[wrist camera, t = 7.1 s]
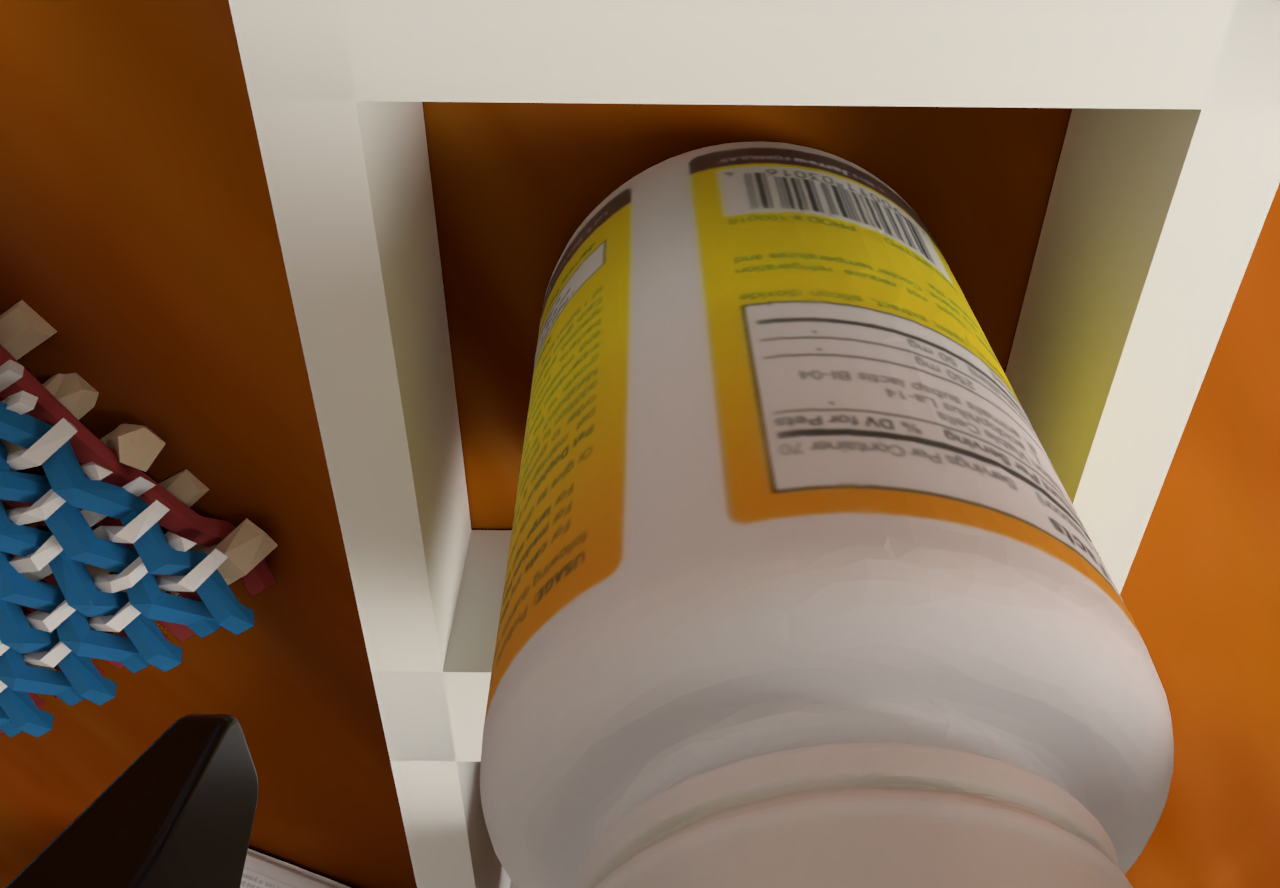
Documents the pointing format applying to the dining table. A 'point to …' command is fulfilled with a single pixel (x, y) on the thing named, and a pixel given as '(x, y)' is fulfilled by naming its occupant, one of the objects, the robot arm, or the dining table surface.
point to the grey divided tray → (732, 75)
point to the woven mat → (98, 545)
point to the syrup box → (280, 874)
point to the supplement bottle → (799, 568)
